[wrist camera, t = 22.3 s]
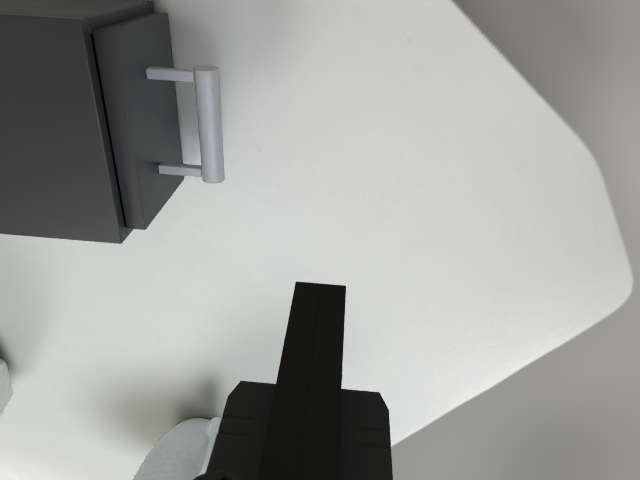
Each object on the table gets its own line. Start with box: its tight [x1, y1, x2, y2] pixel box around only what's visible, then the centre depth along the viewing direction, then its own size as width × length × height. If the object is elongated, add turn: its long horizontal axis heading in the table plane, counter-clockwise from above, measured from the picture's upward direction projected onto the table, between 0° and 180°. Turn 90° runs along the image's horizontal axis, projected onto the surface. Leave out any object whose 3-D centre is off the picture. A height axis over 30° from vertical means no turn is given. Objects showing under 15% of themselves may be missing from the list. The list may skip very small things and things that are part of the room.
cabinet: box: [0, 0, 154, 244], centre depth 31 cm, size 15×13×10 cm
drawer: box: [91, 12, 225, 230], centre depth 31 cm, size 18×11×8 cm, turn 87°
